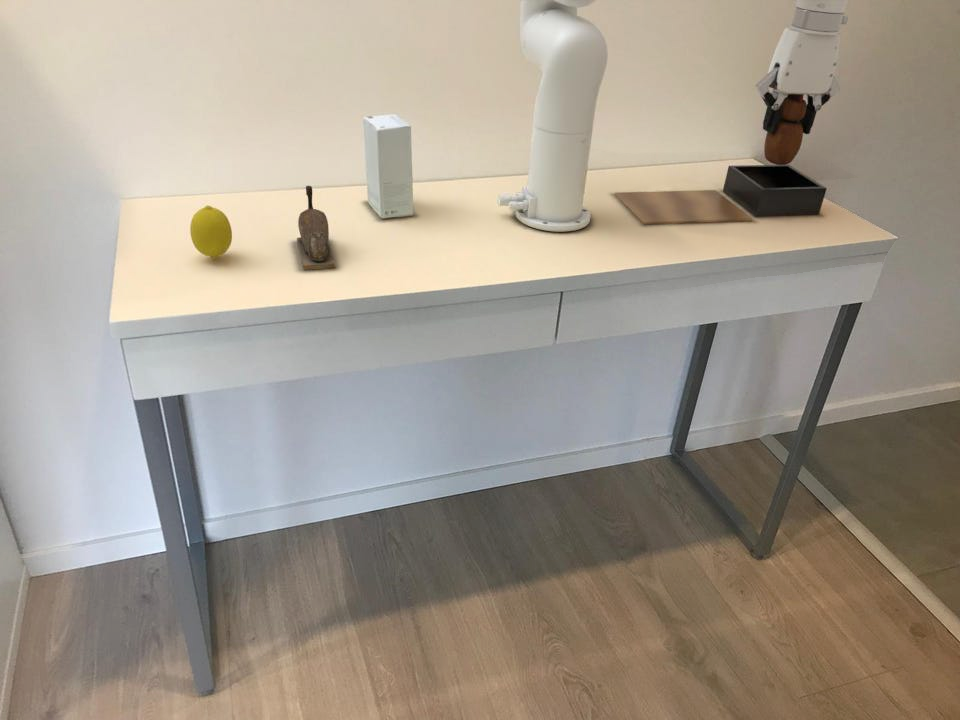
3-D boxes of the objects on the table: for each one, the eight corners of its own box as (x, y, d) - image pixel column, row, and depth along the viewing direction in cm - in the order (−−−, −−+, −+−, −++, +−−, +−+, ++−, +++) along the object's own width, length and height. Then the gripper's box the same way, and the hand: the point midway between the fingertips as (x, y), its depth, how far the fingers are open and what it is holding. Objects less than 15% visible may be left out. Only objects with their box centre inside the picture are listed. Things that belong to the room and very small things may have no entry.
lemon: (197, 269, 111) (189, 215, 107) (192, 253, 115) (184, 200, 111) (237, 264, 113) (231, 211, 109) (231, 248, 117) (225, 197, 113)
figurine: (294, 231, 124) (290, 177, 119) (323, 229, 125) (320, 176, 120) (303, 270, 113) (299, 212, 108) (335, 268, 114) (332, 211, 109)
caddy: (755, 216, 140) (762, 189, 137) (722, 191, 150) (728, 165, 148) (818, 214, 143) (827, 188, 140) (782, 189, 153) (789, 164, 150)
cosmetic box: (414, 216, 132) (415, 126, 124) (378, 220, 129) (377, 129, 122) (398, 198, 138) (398, 112, 130) (364, 201, 136) (362, 114, 128)
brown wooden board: (644, 224, 134) (644, 222, 134) (615, 194, 146) (615, 192, 145) (751, 221, 138) (752, 218, 138) (715, 192, 150) (715, 190, 150)
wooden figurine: (757, 154, 145) (780, 69, 137) (789, 158, 145) (814, 72, 137) (763, 165, 140) (787, 77, 132) (797, 169, 139) (823, 81, 131)
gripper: (849, 20, 135) (817, 126, 144) (757, 15, 131) (731, 124, 141) (876, 28, 129) (841, 138, 138) (781, 23, 125) (751, 137, 134)
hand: (785, 130), depth 139 cm, fingers closed on wooden figurine, 6 cm apart
